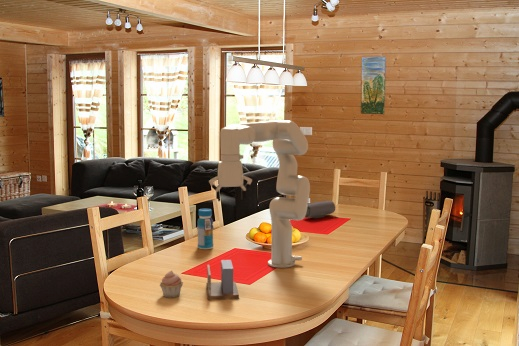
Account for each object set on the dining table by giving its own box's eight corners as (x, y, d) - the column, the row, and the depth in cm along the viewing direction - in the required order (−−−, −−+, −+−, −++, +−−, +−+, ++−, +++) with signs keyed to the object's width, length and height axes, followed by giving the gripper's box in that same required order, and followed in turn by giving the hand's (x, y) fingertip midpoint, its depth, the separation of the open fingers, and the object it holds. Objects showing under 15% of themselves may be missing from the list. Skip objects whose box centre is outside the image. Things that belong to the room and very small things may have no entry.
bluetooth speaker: (325, 213, 385) (325, 199, 384) (335, 216, 378) (336, 201, 377) (300, 218, 370) (301, 203, 369) (311, 220, 363) (311, 205, 362)
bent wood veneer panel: (235, 285, 241) (235, 263, 240) (238, 298, 225) (238, 274, 224) (206, 286, 240) (206, 264, 238) (207, 299, 224) (207, 276, 223)
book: (230, 283, 239) (230, 259, 237) (233, 293, 227) (233, 268, 226) (221, 283, 238) (221, 260, 237) (223, 293, 227) (223, 268, 225)
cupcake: (188, 295, 229) (188, 270, 228) (170, 301, 222) (169, 276, 221) (173, 289, 236) (172, 265, 234) (154, 295, 229) (154, 271, 227)
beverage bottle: (194, 249, 297) (194, 210, 294) (200, 244, 305) (200, 207, 302) (210, 250, 295) (210, 211, 292) (215, 246, 303) (215, 208, 300)
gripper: (250, 156, 236) (251, 197, 239) (208, 157, 234) (209, 199, 237) (252, 159, 229) (253, 201, 232) (209, 160, 227) (210, 203, 229)
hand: (230, 200), depth 234 cm, fingers open, 9 cm apart
